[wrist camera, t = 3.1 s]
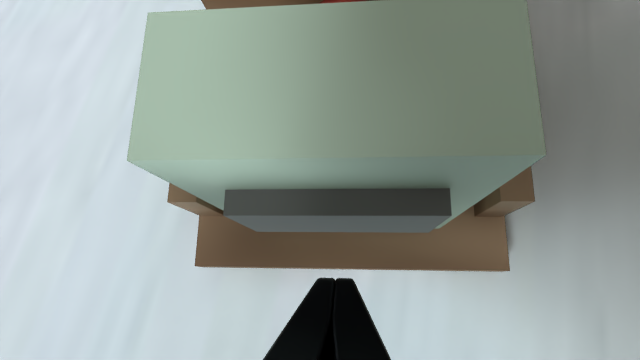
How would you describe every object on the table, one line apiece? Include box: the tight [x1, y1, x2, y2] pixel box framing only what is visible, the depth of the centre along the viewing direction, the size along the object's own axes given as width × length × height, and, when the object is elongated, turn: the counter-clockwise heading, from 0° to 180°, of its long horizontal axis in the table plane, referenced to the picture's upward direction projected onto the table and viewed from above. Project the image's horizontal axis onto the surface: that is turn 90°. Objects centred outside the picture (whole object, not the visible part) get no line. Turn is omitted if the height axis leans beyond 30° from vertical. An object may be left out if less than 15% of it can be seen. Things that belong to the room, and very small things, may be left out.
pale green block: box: [127, 0, 546, 233], centre depth 11 cm, size 4×7×9 cm, turn 89°
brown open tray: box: [167, 0, 535, 271], centre depth 15 cm, size 12×12×5 cm
